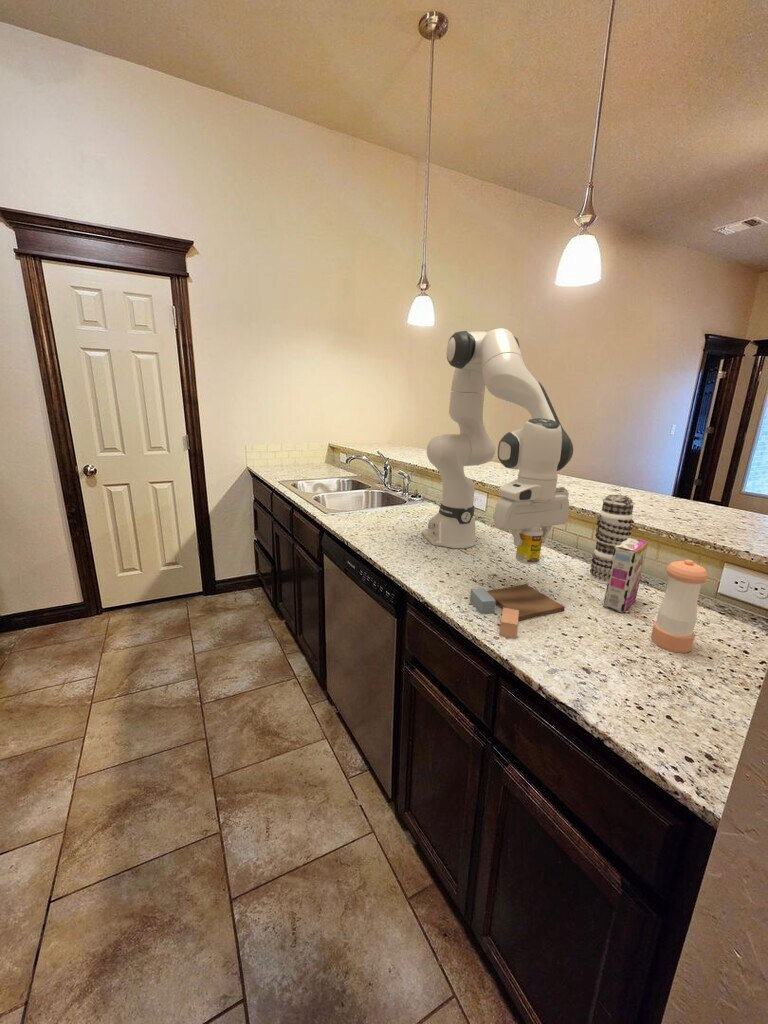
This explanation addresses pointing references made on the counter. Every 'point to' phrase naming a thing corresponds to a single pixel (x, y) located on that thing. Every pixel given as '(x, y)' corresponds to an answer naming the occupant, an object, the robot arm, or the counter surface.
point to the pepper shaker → (679, 607)
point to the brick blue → (482, 601)
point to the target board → (525, 601)
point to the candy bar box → (625, 574)
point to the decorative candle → (610, 534)
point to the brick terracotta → (509, 622)
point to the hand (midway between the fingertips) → (529, 543)
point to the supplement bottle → (530, 545)
